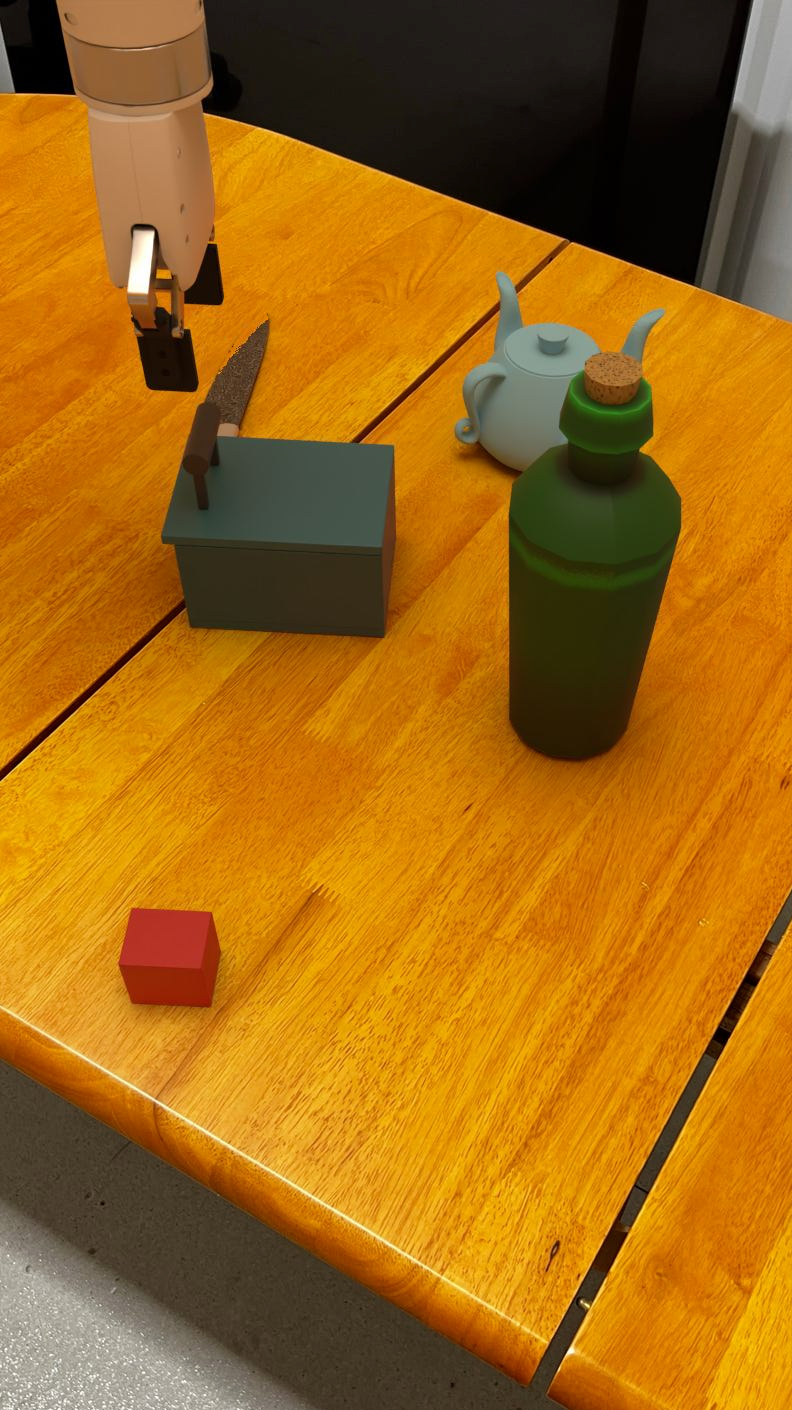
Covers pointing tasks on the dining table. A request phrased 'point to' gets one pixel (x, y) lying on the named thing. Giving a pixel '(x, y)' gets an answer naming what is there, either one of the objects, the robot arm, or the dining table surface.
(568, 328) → the teapot
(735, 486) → the dining table surface
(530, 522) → the bottle
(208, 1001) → the red block
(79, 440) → the dining table surface
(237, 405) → the knife
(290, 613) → the cool box
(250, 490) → the lid
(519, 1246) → the dining table surface
